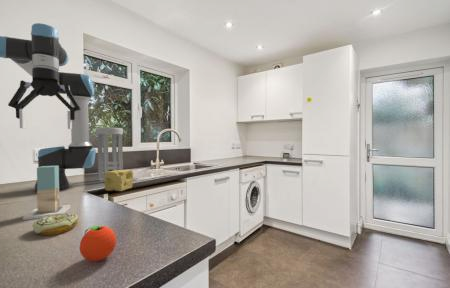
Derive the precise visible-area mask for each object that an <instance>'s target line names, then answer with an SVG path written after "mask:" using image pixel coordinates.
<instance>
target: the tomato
mask: <svg viewBox="0 0 450 288" xmlns="http://www.w3.org/2000/svg"><path fill="white" fill-rule="evenodd" d="M116 245H117V235H116V234H115V231H114V230H112V229H111V228H110V227H108V226H105V225H101V226H98V225H95V226H91V227H88V228H87V229H85V231H84V235H83V236H82V237H81V241H80V242H79V252H80V254H81V256H82V257H83V259H85V260H87V261H90V262H98V261H101V260H105V259H106V258H108V256H110V255H111V254H112V253H113V251H114V250H115V247H116Z"/></svg>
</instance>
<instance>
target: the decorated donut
mask: <svg viewBox="0 0 450 288" xmlns="http://www.w3.org/2000/svg"><path fill="white" fill-rule="evenodd" d="M78 221H79V217H78V215H77V214H76V213H71V212H66V213H60V214H55V215H50V216H46V217H43V218H38V219H37V220H35V221H34V222H33V224H32V229H33V231H34V233H36V234H38V235H40V236H43V237H46V236H55V235H61V234H63V233H66V232H69V231H70V230H73V229H74V227H75V226H76V225H77V224H78Z"/></svg>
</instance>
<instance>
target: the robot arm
mask: <svg viewBox="0 0 450 288" xmlns="http://www.w3.org/2000/svg"><path fill="white" fill-rule="evenodd" d="M30 37H31V39H23V38H18V37H17V38H16V37H12V36H11V37H9V36H2V35H1V36H0V58H3V59H10V60H12V62H14V63H15V65H16V64H17V66H18V67H20V68H21V69H23V71H25V72H26V73H27V74H28V75H30V76H31V77H32V81H31V82H29V81H25V80H20V82H19V87H18V89H17V90H16V92H14V94H13V96H12V97H11V99H10V101H9V102H8V104H7V105H8V106H9V107H11V108H12V109H13V108H14V109H15V118H16V119H19V129H27V119H26V116H27V115H26V112H27V111H26V109H25V107H27V106H28V105H29V104H30V103H31V102H32V101H33V100H34V99H36V98H37V97H39V96H42V97H45V96H48V97H54V96H55V97H56V98H57V99H58V100H59V101H61V103H62V104H63V105H65V107H66V108H67V109H68V110H67V115H66V117H67V129H68V130H71V131H70V134H71V135H70V136H71V138H70V139H71V143H69V144H68V148H66V146H63V145H60V146H53V147H46V148H40V149H39V150H38V153H37V154H38V155H37V164H38V165H37V166H38V167H41V166H59V191H60V190H64V189H67V188H69V187H70V182H69V180H68V177H67V175H66V170H74V169H75V170H76V169H88V168H89V169H90V168H92V167H93V166H94V164H95V160H96V148H95V147H93V144H92V143H91V142H90V121H89V120H90V119H89V116H90V115H89V101H91V99H92V97H93V96H95V88H94V84H93V80H92V77H91V76H90V75H89V74H83V73H74V72H63V71H62V72H61V71H60V67H63V66H66V65H67V64H68V62H69V55H68V53H67V51H66V50H65V48H63V46H62V44H61V43H60V41H59V39H60V37H59V31H58V30H57V29H56V28H55V27H53V26H51V25H49V24H45V23H40V22H39V23H34V24H32V25H31V31H30ZM30 87H31V88H32V90H31V91H30V93H28V94H27V95H26V96H25V97H24V95H25V93H26V92H27V90H28V89H30ZM61 94H63V95H66V98H67V99H68V100H69V101H70V103H69V102H68V101H67V100H66V99H65V98H64V97H63V95H61ZM23 97H24V98H23ZM22 98H23V99H22ZM38 167H37V168H38ZM34 191H35V192H37V180H36V181H35V185H34Z"/></svg>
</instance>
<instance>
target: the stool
mask: <svg viewBox="0 0 450 288" xmlns="http://www.w3.org/2000/svg"><path fill="white" fill-rule="evenodd" d="M95 134H96V136H97V137H96V138H97V181H98V180H103V183H104V182H105V172H110V170H111V171H115V170H124V160H123V159H124V156H123V155H124V153H123V146H124V145H123V134H124V128H121V127H96V128H95ZM109 135H110V136H111V160H112V161H109Z"/></svg>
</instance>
